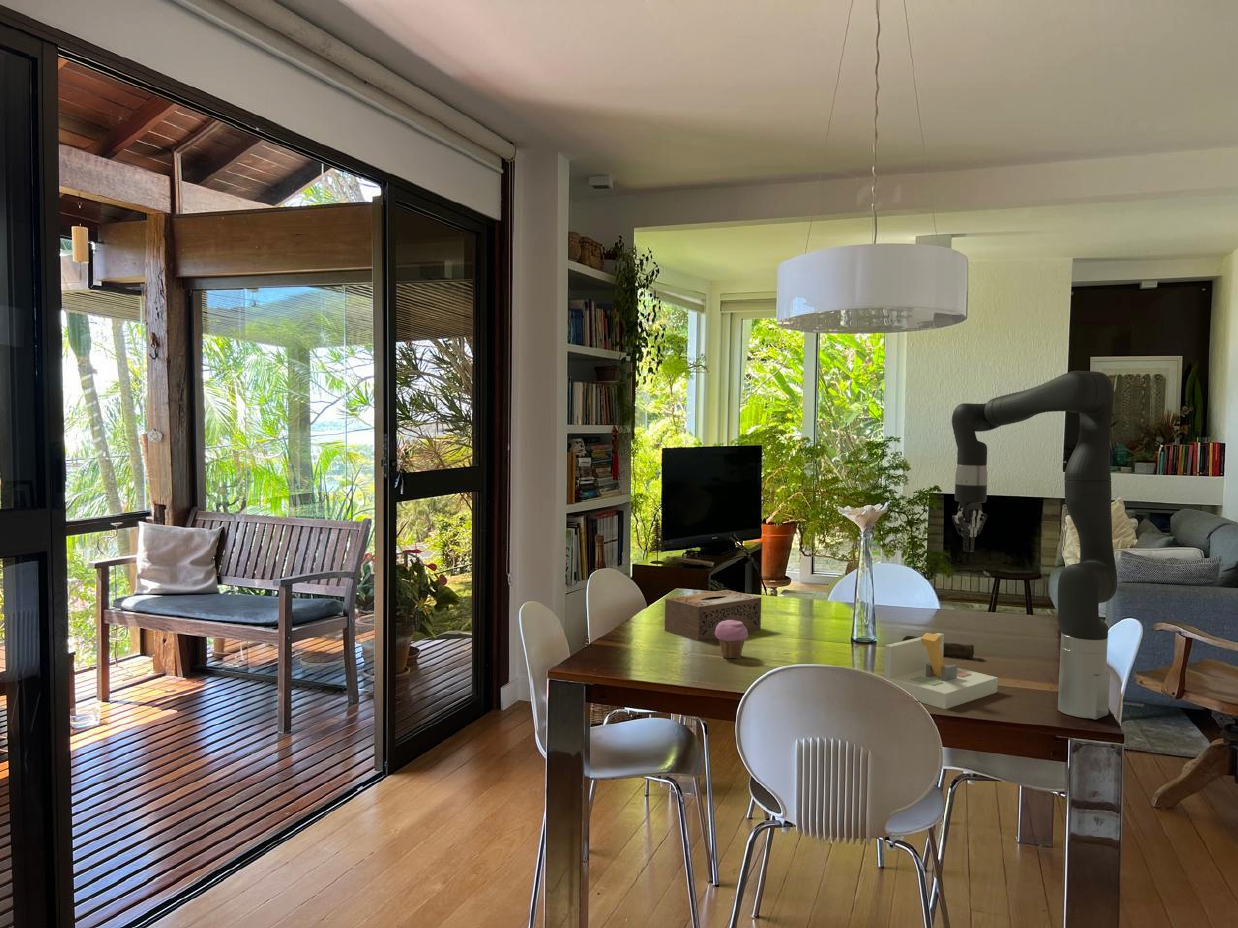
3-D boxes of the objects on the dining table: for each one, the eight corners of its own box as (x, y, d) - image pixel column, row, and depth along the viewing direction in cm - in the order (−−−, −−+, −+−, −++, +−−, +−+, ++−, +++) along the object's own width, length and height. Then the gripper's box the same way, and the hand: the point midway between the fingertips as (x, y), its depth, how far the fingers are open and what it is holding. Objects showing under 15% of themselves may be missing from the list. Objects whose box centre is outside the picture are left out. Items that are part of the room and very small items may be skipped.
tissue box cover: (697, 641, 263) (698, 606, 263) (664, 631, 275) (665, 598, 274) (760, 630, 279) (761, 597, 279) (726, 621, 291) (727, 589, 290)
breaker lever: (936, 669, 219) (926, 632, 216) (949, 672, 217) (940, 635, 213) (930, 674, 218) (920, 638, 215) (944, 678, 215) (934, 641, 212)
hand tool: (974, 657, 251) (974, 640, 251) (973, 661, 247) (973, 643, 247) (902, 649, 259) (902, 633, 259) (899, 652, 256) (900, 635, 255)
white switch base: (936, 676, 231) (938, 632, 230) (997, 692, 219) (999, 646, 218) (883, 691, 217) (885, 645, 217) (945, 709, 205) (947, 660, 204)
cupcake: (749, 661, 242) (750, 623, 241) (716, 661, 242) (717, 623, 241) (744, 652, 251) (745, 616, 250) (712, 652, 251) (713, 615, 250)
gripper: (970, 484, 226) (967, 555, 226) (998, 483, 234) (996, 551, 235) (942, 482, 231) (940, 551, 232) (971, 481, 240) (968, 547, 241)
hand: (968, 551), depth 233 cm, fingers closed
